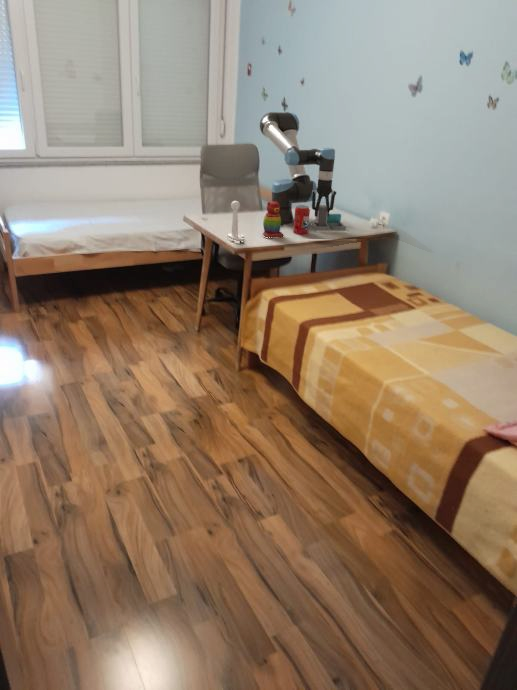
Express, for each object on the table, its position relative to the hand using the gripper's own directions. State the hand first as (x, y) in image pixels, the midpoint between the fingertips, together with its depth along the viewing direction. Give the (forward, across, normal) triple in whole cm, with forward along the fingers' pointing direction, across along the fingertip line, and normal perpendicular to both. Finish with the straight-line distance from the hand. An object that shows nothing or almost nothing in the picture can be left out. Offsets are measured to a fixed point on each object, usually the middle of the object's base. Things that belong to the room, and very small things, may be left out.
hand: (321, 222), depth 290 cm
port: (+3, +9, +2) cm, 10 cm away
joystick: (+4, -49, -19) cm, 53 cm away
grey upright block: (+3, 0, 0) cm, 3 cm away
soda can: (+4, -14, -9) cm, 17 cm away
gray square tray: (+4, +4, 0) cm, 6 cm away
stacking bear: (+4, -30, -11) cm, 32 cm away
